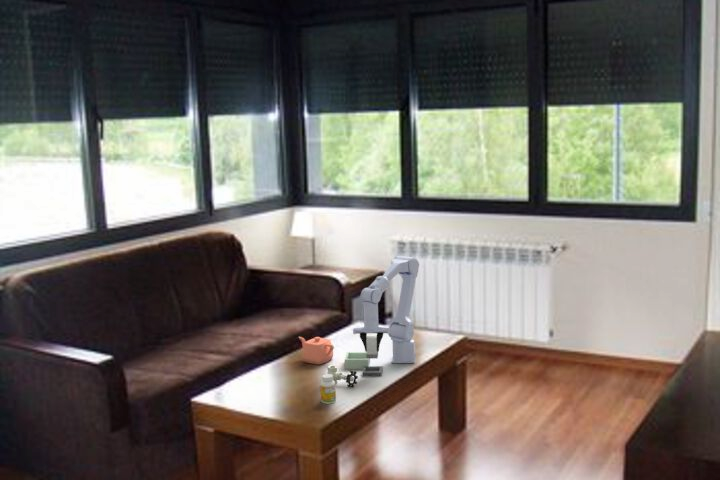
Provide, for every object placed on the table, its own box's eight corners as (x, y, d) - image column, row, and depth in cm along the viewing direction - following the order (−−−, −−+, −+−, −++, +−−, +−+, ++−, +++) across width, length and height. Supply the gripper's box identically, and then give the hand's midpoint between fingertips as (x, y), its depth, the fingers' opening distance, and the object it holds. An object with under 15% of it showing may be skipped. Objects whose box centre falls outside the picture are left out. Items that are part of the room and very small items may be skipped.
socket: (382, 369, 318) (382, 366, 317) (381, 376, 310) (381, 372, 310) (364, 369, 318) (364, 366, 318) (362, 376, 311) (362, 372, 311)
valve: (323, 384, 303) (348, 390, 296) (322, 368, 302) (347, 373, 295) (333, 379, 308) (358, 385, 301) (333, 363, 307) (357, 368, 300)
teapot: (326, 367, 323) (325, 343, 321) (291, 361, 332) (290, 337, 331) (341, 360, 332) (340, 336, 331) (307, 354, 342) (306, 331, 340)
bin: (370, 361, 329) (369, 352, 328) (368, 368, 320) (367, 359, 319) (347, 361, 330) (346, 352, 329) (344, 368, 320) (344, 359, 320)
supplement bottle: (320, 399, 288) (319, 373, 286) (335, 398, 288) (334, 372, 286) (321, 404, 282) (320, 378, 281) (336, 403, 283) (335, 377, 281)
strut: (378, 355, 315) (377, 335, 314) (377, 358, 311) (376, 339, 310) (367, 355, 316) (366, 335, 314) (366, 358, 311) (365, 339, 310)
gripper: (351, 320, 307) (353, 354, 310) (388, 320, 306) (389, 353, 308) (353, 316, 314) (354, 348, 316) (389, 315, 313) (390, 348, 315)
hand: (372, 350), depth 313 cm, fingers closed on strut, 4 cm apart
